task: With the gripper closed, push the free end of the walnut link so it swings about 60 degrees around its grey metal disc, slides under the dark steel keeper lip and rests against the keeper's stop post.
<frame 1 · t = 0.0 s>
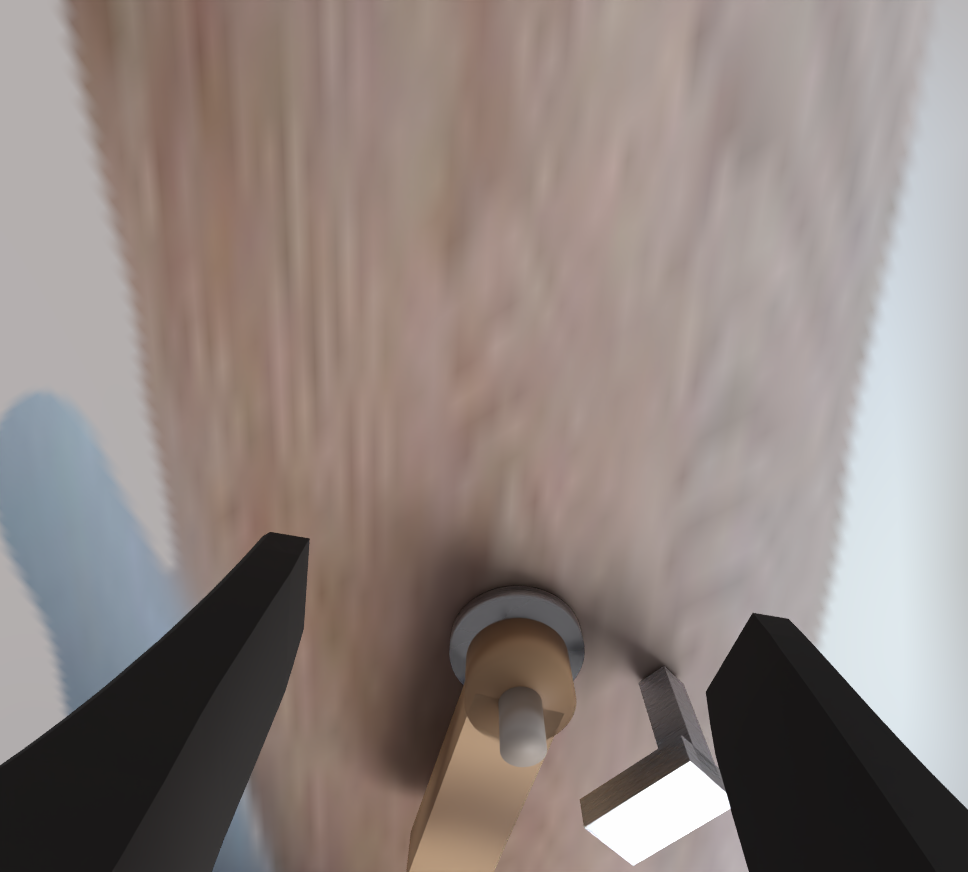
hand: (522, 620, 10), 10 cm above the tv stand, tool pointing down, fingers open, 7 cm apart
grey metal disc: (516, 640, 23), on the tv stand
link: (486, 783, 22), point 3 cm above the tv stand, hinge at 0.0°
keeper: (660, 683, 24), on the tv stand
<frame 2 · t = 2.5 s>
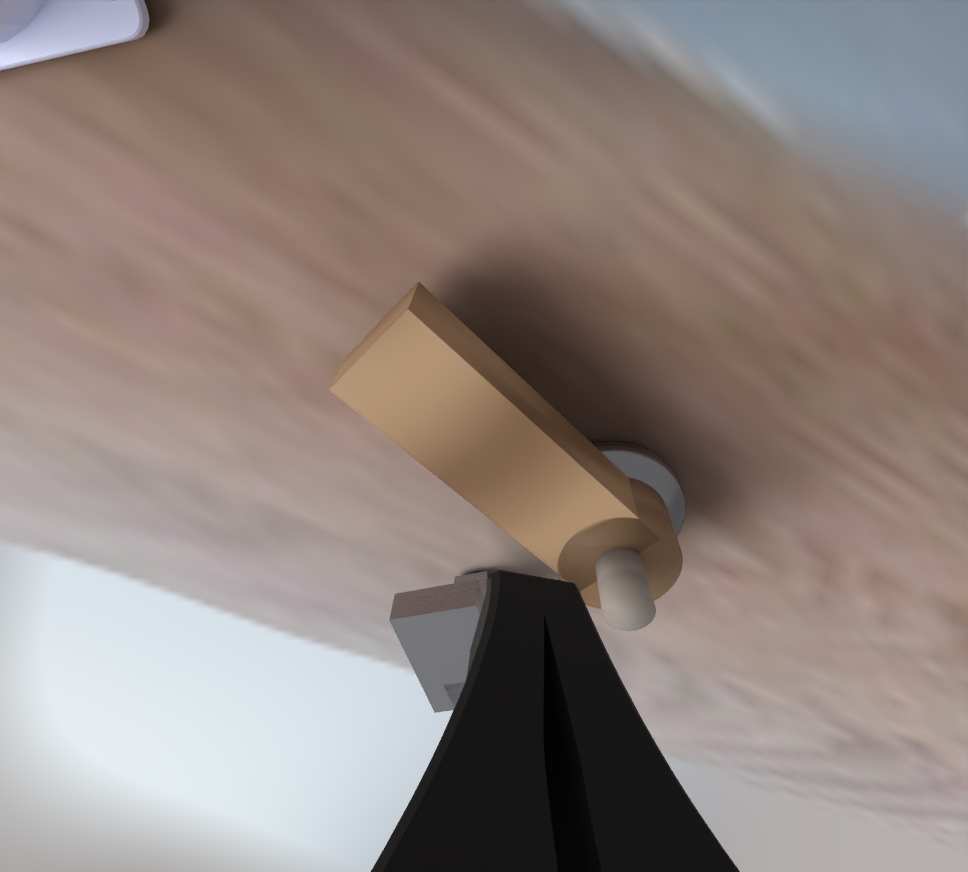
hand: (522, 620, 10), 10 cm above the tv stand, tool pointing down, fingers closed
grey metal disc: (606, 503, 21), on the tv stand
link: (528, 486, 17), point 3 cm above the tv stand, hinge at 0.0°
keeper: (475, 585, 23), on the tv stand
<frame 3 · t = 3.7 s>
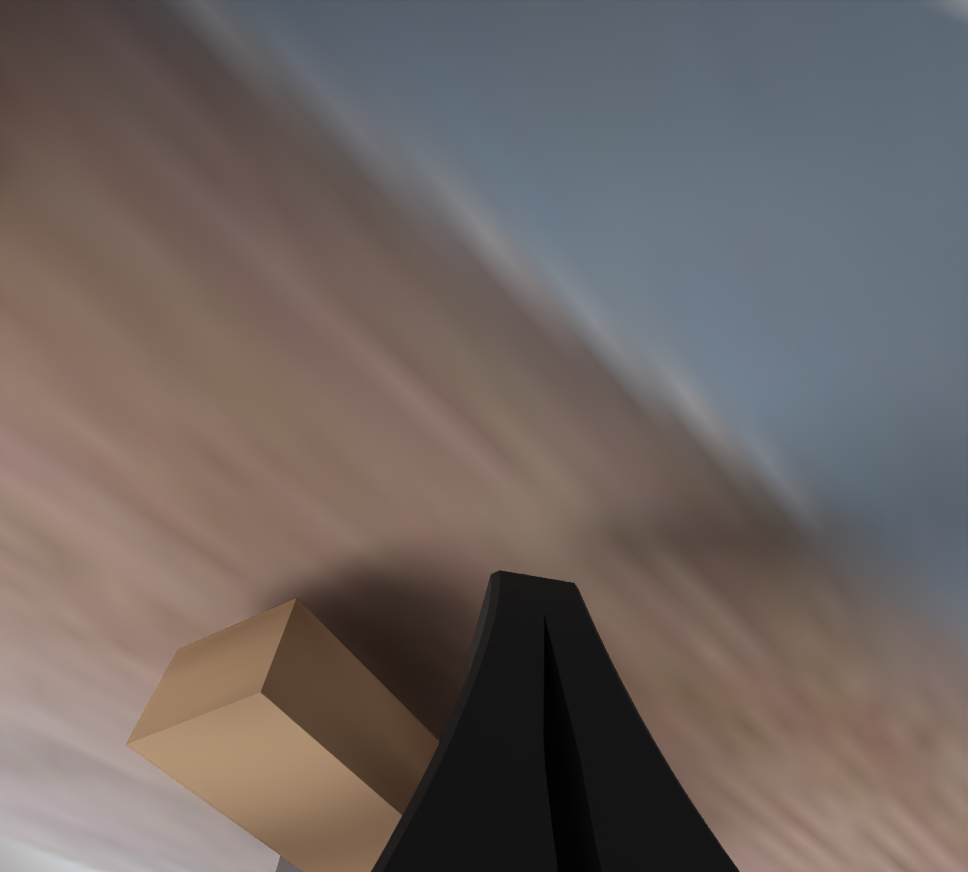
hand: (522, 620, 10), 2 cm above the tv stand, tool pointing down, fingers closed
link: (387, 868, 13), point 3 cm above the tv stand, hinge at 0.0°
keeper: (307, 856, 19), on the tv stand
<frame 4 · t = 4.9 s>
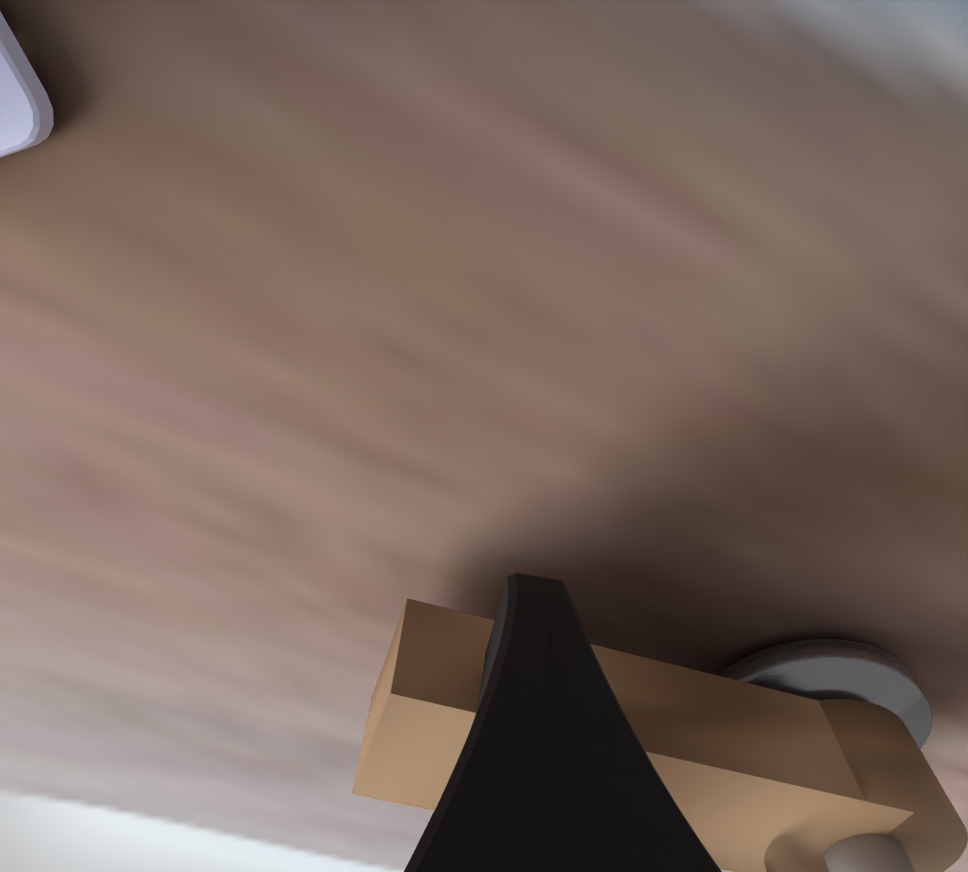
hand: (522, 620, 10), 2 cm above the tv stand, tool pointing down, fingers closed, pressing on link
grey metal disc: (800, 710, 15), on the tv stand
link: (675, 807, 12), point 3 cm above the tv stand, hinge at 21.2°, touching gripper
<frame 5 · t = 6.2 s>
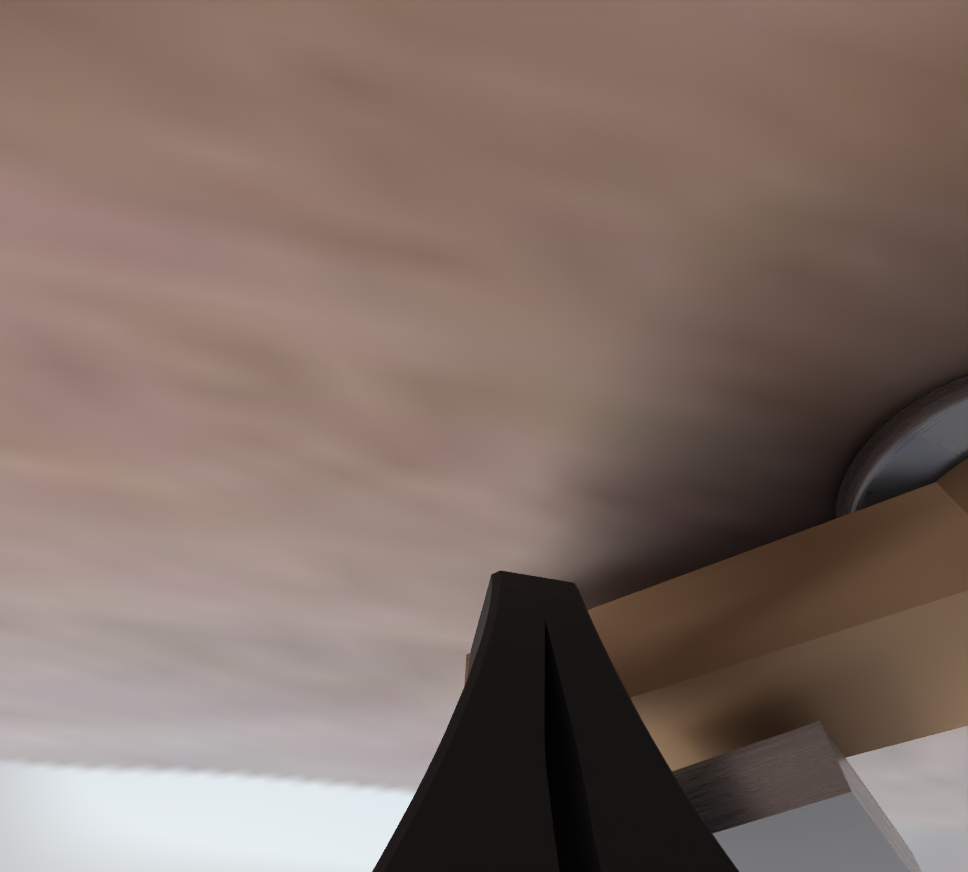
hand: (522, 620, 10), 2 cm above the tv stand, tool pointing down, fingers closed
link: (826, 697, 10), point 3 cm above the tv stand, hinge at 54.6°, touching gripper
keeper: (755, 677, 14), on the tv stand
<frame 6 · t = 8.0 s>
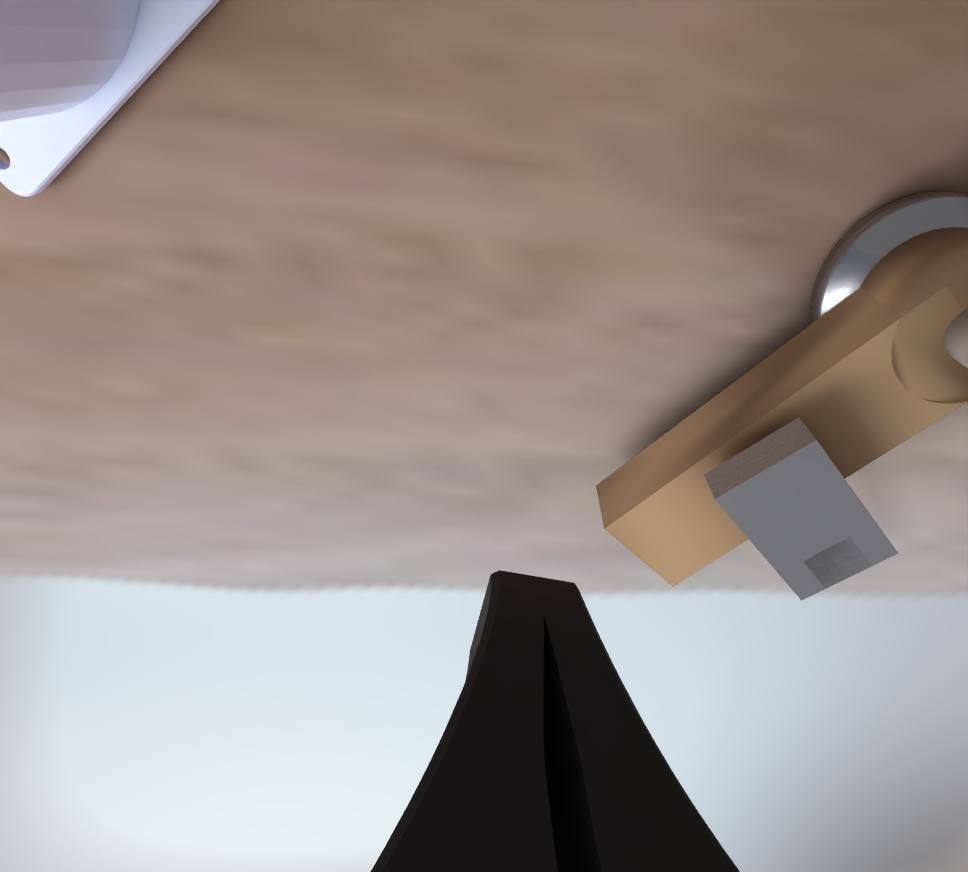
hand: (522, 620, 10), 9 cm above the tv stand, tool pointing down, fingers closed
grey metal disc: (907, 288, 17), on the tv stand
link: (819, 434, 16), point 3 cm above the tv stand, hinge at 64.8°
keeper: (772, 459, 20), on the tv stand
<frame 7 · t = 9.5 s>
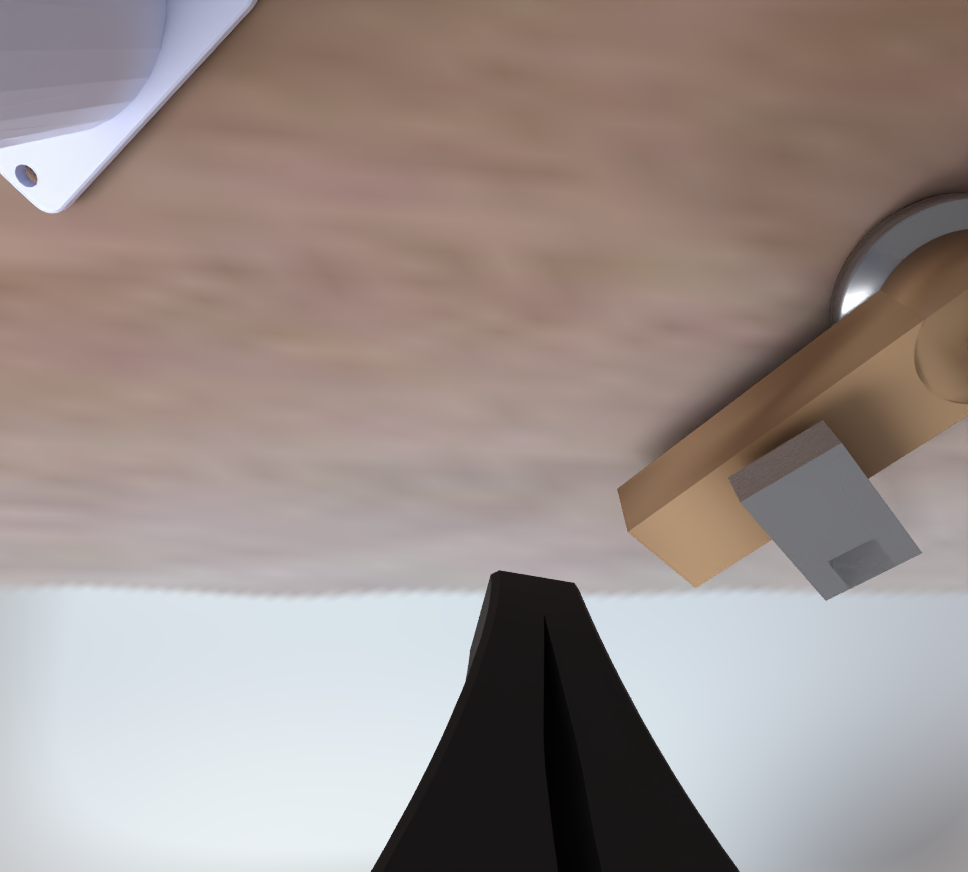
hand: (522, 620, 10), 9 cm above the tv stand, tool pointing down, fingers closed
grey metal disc: (926, 288, 17), on the tv stand
link: (842, 436, 16), point 3 cm above the tv stand, hinge at 64.8°
keeper: (791, 460, 20), on the tv stand
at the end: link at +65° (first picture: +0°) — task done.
